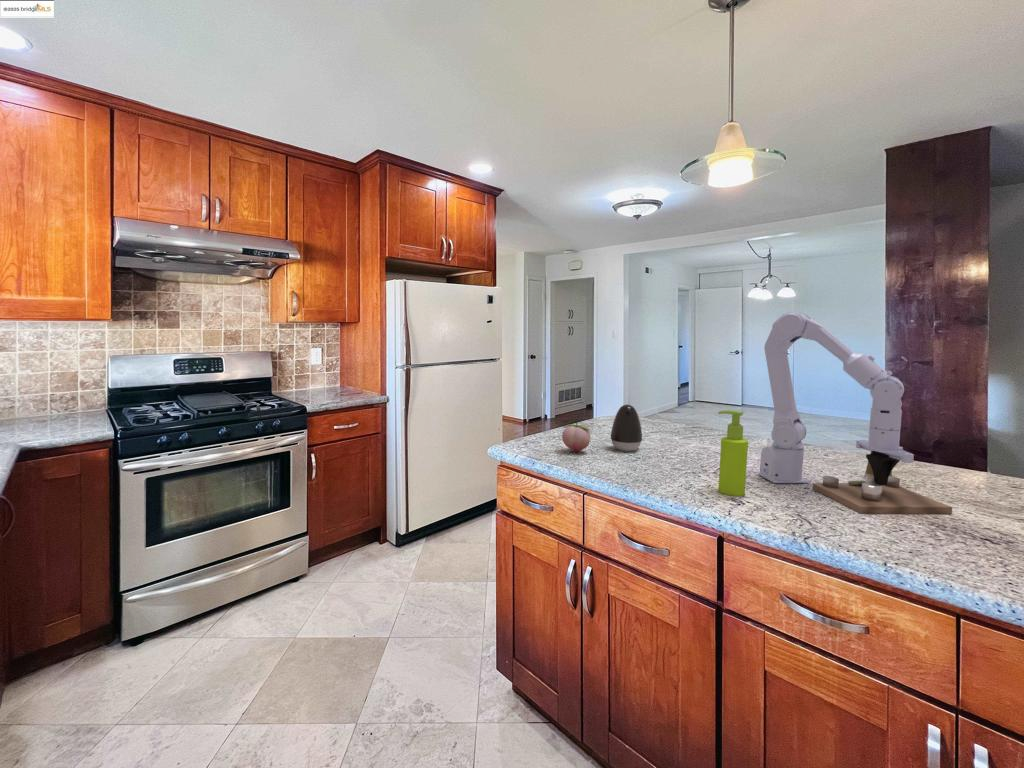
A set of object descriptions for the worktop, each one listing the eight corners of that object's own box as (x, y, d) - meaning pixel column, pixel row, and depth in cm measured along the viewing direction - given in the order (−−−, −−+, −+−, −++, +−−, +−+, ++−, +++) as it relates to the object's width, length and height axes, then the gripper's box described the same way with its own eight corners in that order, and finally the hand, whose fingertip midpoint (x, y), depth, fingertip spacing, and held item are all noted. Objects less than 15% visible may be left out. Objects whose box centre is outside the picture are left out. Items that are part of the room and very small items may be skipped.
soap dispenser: (716, 485, 119) (721, 408, 117) (746, 491, 115) (751, 411, 113) (711, 492, 114) (716, 411, 112) (742, 497, 111) (747, 414, 108)
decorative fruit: (593, 450, 154) (594, 420, 153) (587, 456, 147) (587, 425, 146) (566, 447, 158) (566, 418, 157) (558, 453, 150) (559, 422, 149)
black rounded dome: (610, 452, 151) (612, 406, 150) (609, 445, 161) (611, 401, 160) (643, 454, 150) (645, 407, 148) (640, 446, 160) (641, 402, 158)
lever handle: (881, 501, 104) (882, 488, 103) (861, 498, 106) (862, 485, 105) (877, 487, 114) (878, 475, 113) (859, 484, 116) (860, 472, 115)
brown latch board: (860, 513, 101) (862, 497, 101) (812, 488, 117) (813, 475, 117) (952, 513, 101) (953, 498, 101) (891, 489, 118) (892, 475, 117)
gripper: (929, 434, 103) (924, 494, 104) (877, 422, 117) (873, 475, 118) (897, 434, 103) (892, 494, 104) (849, 422, 117) (845, 475, 118)
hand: (880, 484), depth 111 cm, fingers closed, pressing on lever handle
